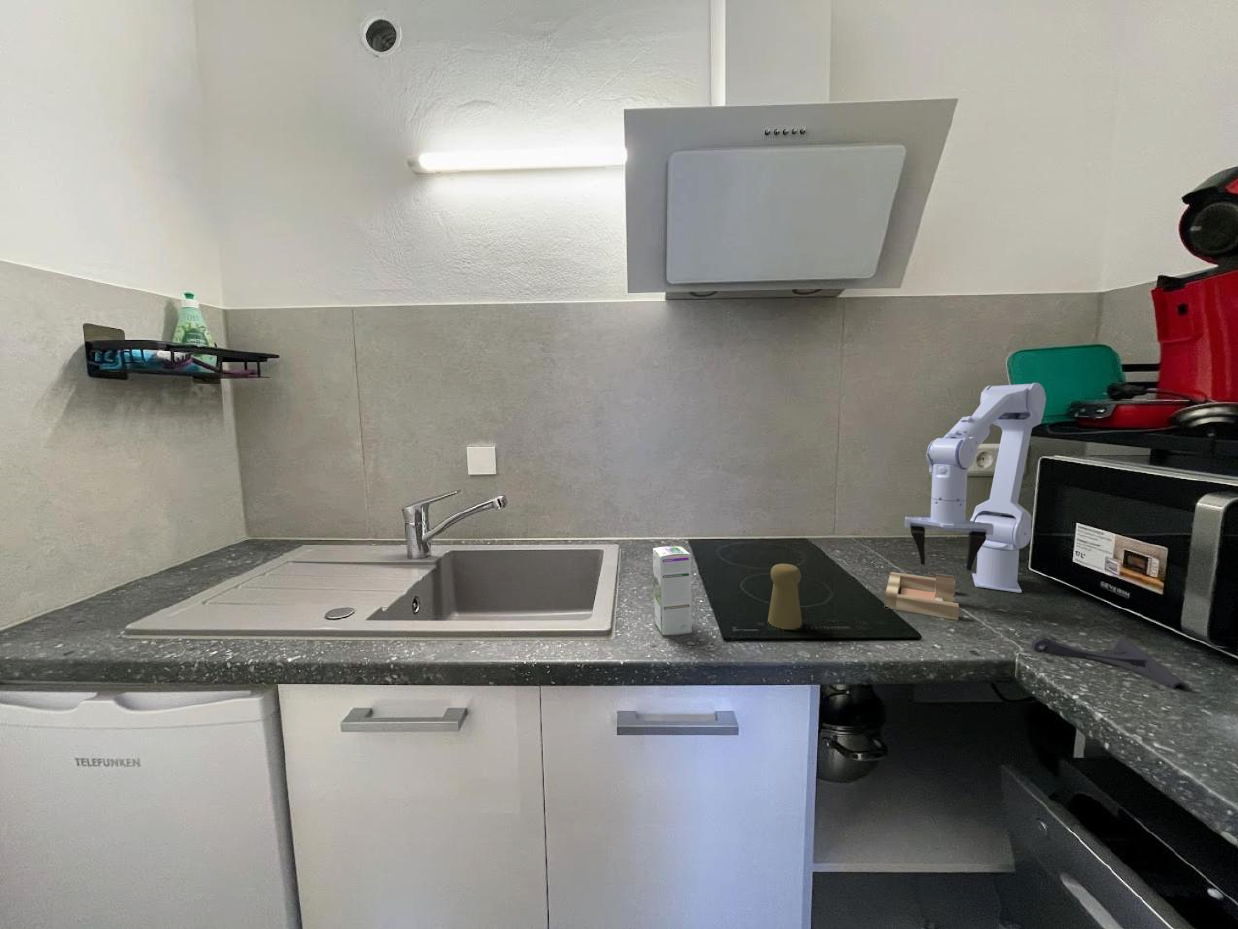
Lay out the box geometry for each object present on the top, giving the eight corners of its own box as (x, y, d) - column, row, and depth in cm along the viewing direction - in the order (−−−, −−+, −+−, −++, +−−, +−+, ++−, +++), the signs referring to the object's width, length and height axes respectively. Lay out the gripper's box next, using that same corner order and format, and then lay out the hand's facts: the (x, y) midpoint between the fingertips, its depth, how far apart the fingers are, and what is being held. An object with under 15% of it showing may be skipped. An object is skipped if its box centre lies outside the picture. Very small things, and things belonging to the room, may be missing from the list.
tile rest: (890, 582, 112) (890, 572, 112) (954, 592, 105) (954, 580, 105) (884, 607, 97) (884, 595, 97) (958, 620, 91) (958, 607, 91)
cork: (789, 615, 94) (790, 559, 93) (809, 628, 88) (810, 568, 87) (761, 619, 93) (762, 562, 92) (779, 632, 87) (780, 571, 86)
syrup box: (693, 633, 87) (692, 553, 86) (660, 636, 86) (660, 555, 85) (682, 620, 93) (682, 544, 91) (652, 623, 92) (651, 546, 90)
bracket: (1017, 635, 86) (1018, 619, 86) (1130, 649, 80) (1131, 633, 80) (1050, 675, 73) (1051, 657, 73) (1188, 696, 67) (1190, 676, 67)
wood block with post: (934, 594, 104) (935, 568, 104) (951, 596, 103) (953, 571, 102) (935, 610, 96) (936, 582, 96) (953, 613, 94) (954, 585, 94)
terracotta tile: (901, 594, 106) (901, 587, 106) (934, 599, 103) (934, 592, 103) (899, 603, 101) (900, 596, 101) (934, 609, 98) (935, 601, 98)
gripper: (905, 499, 98) (902, 566, 99) (996, 505, 90) (992, 577, 91) (906, 494, 104) (904, 557, 105) (992, 499, 96) (988, 567, 97)
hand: (945, 566), depth 99 cm, fingers open, 7 cm apart
